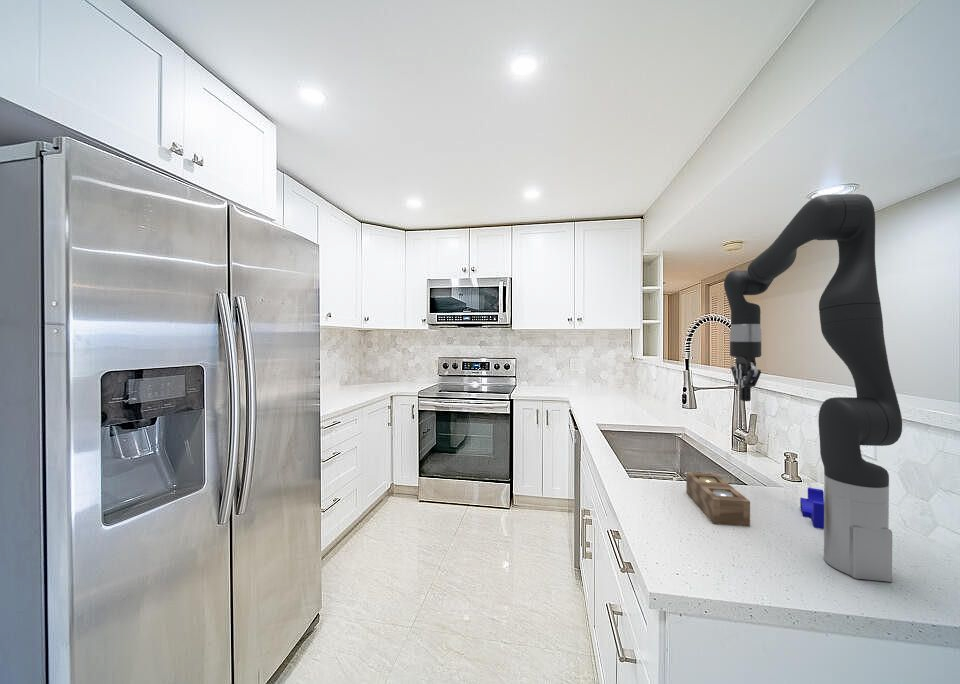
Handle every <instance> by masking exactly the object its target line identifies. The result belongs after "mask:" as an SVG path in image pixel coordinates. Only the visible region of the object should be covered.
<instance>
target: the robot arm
mask: <svg viewBox="0 0 960 684" xmlns="http://www.w3.org/2000/svg"><path fill="white" fill-rule="evenodd" d="M875 211H876V210H875V206H874V203H873V202H872V199H870V197H868V196H867V195H865V194H859V193H858V194H857V193H850V194H849V193H844V194H843V193H842V194H840V193H839V194H836V193H835V194H822V195H818V196H815V197H813V198H811V199H810V200H809V201H807V202H806V203H805V204H804V205H803V206H802V207H800V209H799V211H798V212H797V213H796V214H795V215H794V216H793V218H792V219H791V220H790V222H788V224H787V225H786V226H785V228H784V229H783V230H782V231H781V232H780V234H779V235H778V237H776V239H775V240H774V241H773V242H772V244H771V245H770V246H768V247H767V248H766V249H765V250H763V252H761V253H760V254H759V255H758V256H757V257H755V258H754V259H753V260H752V261H751V262H750V263H749V264H748V267H747V270H745V269H744V270H743V269H742V270H732V271H730V272H729V273H728V274H726V276H725V278H724V281H723V282H724V283H723V288H724V291H725V292H724V293H725V294H726V297H727V301H728V305H729V309H730V330H729V356H730V357H733V358H735V360H734V363H735V364H734V366H731V373H732V376H733V379H734V382H735V385H737V386H738V388H739V401H741V402H750V401H751V399H752V398H751V395H752V394H751V393H752V391H751V389H753V388H754V387H756V385H757V383H758V380H759V378H760V376H761V374H762V370H761V369H757V363H756V362H757V361H756V358H760V357H761V356H762V328H761V314H762V313H761V306H760V305H759V304H757V303H754V302H749V301H747V300H746V298H745V296H756V295H757V296H758V295H761V294H764V292H766V291H767V290H768V289H769V287H770V286H771V285H772V283H773V281H774V280H775V279H776V278H777V277H778V276H780V275H781V274H783V273H785V272H786V271H787V270H788V269H790V268H791V267H792V266H793V264H794V263H795V260H796V257H797V254H798V253H797V252H798V251H797V250H798V249H799V248H800V247H801V246H803V245H805V244H808V243H809V242H811V241H815V240H816V241H836V242H837V247H838V265H837V268H836V270H835V272H834V274H833V275H832V278H831V279H830V280H829V282H828V283H827V285H826V287H825V288H824V290H823V292H822V294H821V296H820V298H819V303H818V311H819V313H818V314H819V322H820V329H821V335H822V336H823V338H824V339H825V341H826V343H827V344H828V346H829V347H830V348H831V349H832V350H833V351H834V353H835V354H836V355H837V356H838V358H840V360H841V361H842V362H843V363H844V364H845V366H846V367H847V368H848V370H849V372H850V374H851V377H852V379H853V382H854V383H853V384H854V388H855V392H856V397H848V396H847V397H845V396H843V397H842V396H841V397H840V396H839V397H836V396H835V397H830V398H827V399H825V400H824V401H823V402H822V404H821V405H820V408H819V412H818V420H817V421H818V434H819V435H818V436H819V452H820V459H821V462H822V464H823V472H824V473H823V474H824V476H823V477H824V479H823V481H824V482H823V484H824V485H823V486H824V487H823V489H824V490H823V491H824V529H823V560H824V561H825V562H826V563H827V564H828V565H829V566H831V567H832V568H833V569H836V570H837V571H840V572H842V573H844V574H847V575H849V576H851V578H853V579H858V580H867V581H880V582H893V531H892V530H891V529H889V528H890V527H889V525H890V524H889V523H890V522H889V521H890V520H889V519H890V517H889V516H890V514H889V513H890V511H889V510H890V509H889V507H890V503H889V502H890V489H889V488H890V475H889V472H888V470H887V469H886V468H884V467H882V466H880V465H878V464H875V463H874V462H873V463H872V462H870V461H866V460H865V459H864V458H863V456H862V451H861V446H865V447H866V446H869V447H871V446H872V447H875V446H879V447H884V446H885V447H887V446H891V445H894V444H895V443H896V442H898V441H899V439H900V438H901V435H902V433H903V417H902V412H901V407H900V404H899V400H898V397H897V393H896V390H895V389H896V388H895V385H894V381H893V377H892V375H891V374H892V373H891V369H890V365H889V360H888V359H889V358H888V354H887V352H888V351H887V347H886V340H885V334H884V321H883V319H884V318H883V313H882V312H883V311H882V305H881V303H882V302H881V300H880V299H881V298H880V294H879V288H878V286H879V285H878V276H877V275H878V274H877V265H876V212H875Z"/></svg>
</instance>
